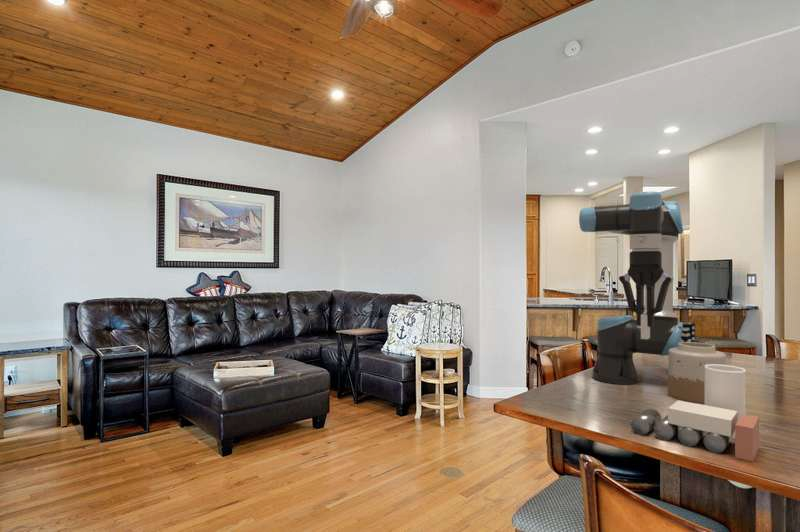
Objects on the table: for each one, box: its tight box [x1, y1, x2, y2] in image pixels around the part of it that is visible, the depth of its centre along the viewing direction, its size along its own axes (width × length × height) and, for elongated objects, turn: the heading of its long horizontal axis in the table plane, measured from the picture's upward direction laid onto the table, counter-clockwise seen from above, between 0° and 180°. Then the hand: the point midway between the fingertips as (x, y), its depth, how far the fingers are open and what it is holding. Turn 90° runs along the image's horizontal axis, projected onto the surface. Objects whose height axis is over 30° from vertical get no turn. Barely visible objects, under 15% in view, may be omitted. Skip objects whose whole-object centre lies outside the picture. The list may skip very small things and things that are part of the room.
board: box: [667, 399, 738, 437], centre depth 104 cm, size 12×9×4 cm
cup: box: [704, 364, 747, 440], centre depth 111 cm, size 8×8×16 cm
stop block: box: [734, 414, 760, 463], centre depth 99 cm, size 3×10×7 cm, turn 135°
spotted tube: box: [680, 321, 696, 342], centre depth 170 cm, size 8×8×20 cm
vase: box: [667, 341, 727, 405], centre depth 141 cm, size 15×15×17 cm
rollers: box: [631, 408, 733, 454], centre depth 107 cm, size 19×10×4 cm, turn 46°
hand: (645, 338), depth 120 cm, fingers closed
